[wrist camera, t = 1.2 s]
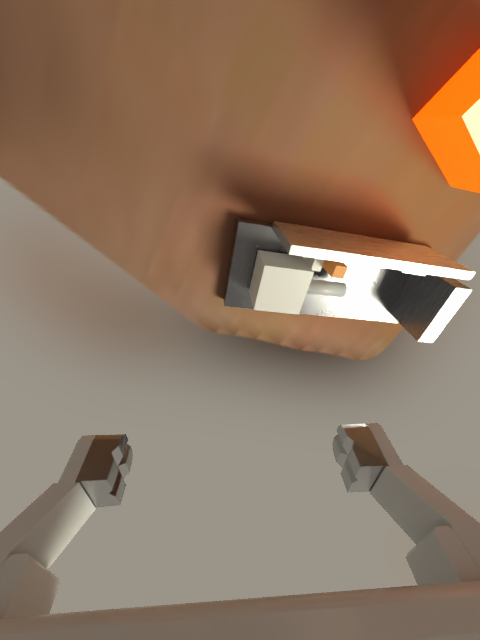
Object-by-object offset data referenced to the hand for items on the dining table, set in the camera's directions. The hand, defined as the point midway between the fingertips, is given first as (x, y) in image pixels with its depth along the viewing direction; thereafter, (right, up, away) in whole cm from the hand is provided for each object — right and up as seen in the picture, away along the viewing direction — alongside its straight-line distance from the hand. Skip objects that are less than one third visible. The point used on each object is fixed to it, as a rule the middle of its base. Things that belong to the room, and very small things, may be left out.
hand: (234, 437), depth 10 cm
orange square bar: (+9, +12, +19) cm, 24 cm away
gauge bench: (+11, +10, +22) cm, 27 cm away
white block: (+7, +10, +20) cm, 23 cm away
